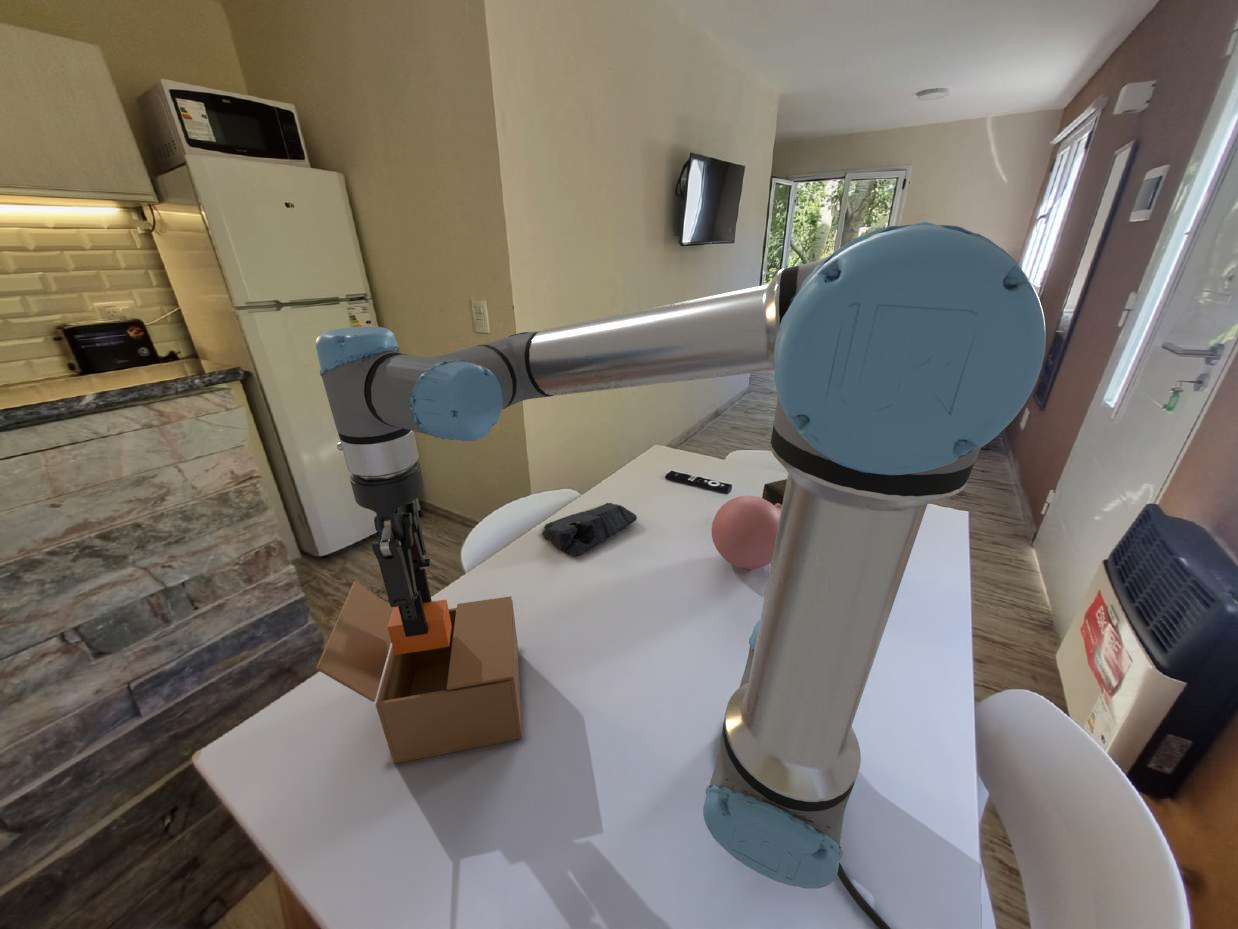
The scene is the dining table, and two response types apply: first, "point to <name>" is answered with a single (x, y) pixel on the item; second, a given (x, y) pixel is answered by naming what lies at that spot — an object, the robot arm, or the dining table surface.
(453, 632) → the box
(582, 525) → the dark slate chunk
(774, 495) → the brown wooden block
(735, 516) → the balloon
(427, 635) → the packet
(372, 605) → the flap
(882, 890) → the dining table surface
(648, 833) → the dining table surface
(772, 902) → the dining table surface
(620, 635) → the dining table surface
